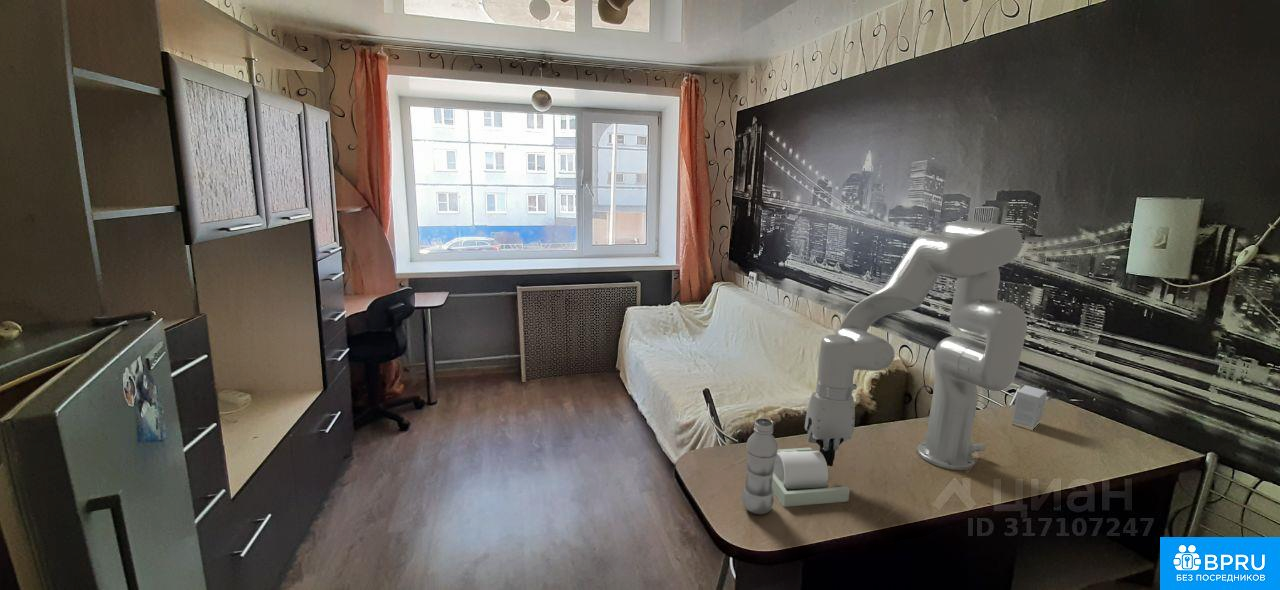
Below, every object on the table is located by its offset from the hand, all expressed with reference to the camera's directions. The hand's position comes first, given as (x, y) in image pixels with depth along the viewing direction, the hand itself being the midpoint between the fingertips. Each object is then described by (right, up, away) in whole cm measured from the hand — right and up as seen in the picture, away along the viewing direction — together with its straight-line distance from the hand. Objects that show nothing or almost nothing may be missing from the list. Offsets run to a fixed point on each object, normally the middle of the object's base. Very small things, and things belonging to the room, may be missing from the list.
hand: (826, 463), depth 122 cm
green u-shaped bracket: (-7, -4, 0) cm, 8 cm away
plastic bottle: (-19, -6, -11) cm, 23 cm away
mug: (-7, -4, 0) cm, 9 cm away
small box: (+70, +1, +31) cm, 76 cm away
